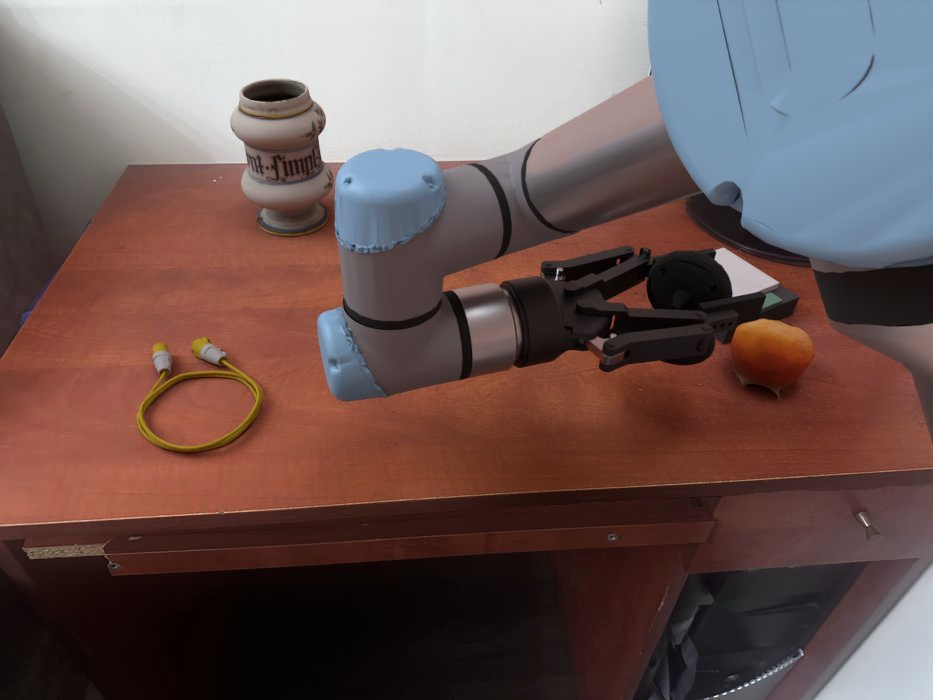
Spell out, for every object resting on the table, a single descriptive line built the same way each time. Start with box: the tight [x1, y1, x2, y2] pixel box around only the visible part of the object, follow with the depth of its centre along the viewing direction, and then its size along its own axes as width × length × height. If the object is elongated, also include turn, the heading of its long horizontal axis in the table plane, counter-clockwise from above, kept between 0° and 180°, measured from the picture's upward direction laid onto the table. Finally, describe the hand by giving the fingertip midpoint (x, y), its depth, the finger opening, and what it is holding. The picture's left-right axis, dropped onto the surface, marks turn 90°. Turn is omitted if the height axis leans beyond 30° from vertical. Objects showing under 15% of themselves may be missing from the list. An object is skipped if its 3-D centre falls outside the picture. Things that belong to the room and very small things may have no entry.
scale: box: [713, 246, 801, 344], centre depth 86 cm, size 12×12×3 cm
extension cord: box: [136, 336, 264, 453], centre depth 70 cm, size 12×16×2 cm
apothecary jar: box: [229, 78, 335, 237], centre depth 93 cm, size 12×12×18 cm
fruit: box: [730, 319, 815, 401], centre depth 75 cm, size 8×8×8 cm
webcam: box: [645, 249, 733, 367], centre depth 65 cm, size 8×8×10 cm
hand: (733, 283), depth 66 cm, fingers closed on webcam, 7 cm apart
